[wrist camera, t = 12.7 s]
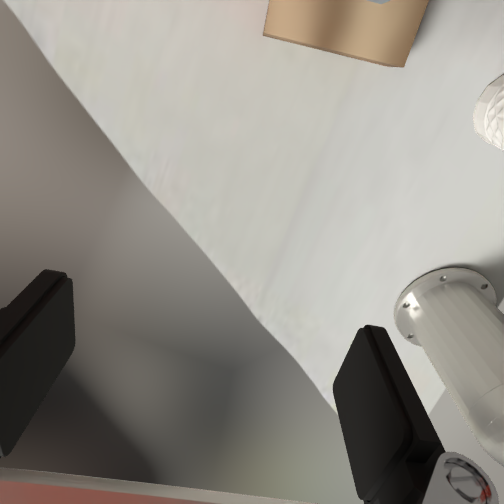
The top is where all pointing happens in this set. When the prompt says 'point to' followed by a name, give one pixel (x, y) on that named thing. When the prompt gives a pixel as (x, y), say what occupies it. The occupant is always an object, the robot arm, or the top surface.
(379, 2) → the block
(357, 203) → the top surface
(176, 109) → the top surface
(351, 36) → the pedestal
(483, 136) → the white cup
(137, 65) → the top surface
